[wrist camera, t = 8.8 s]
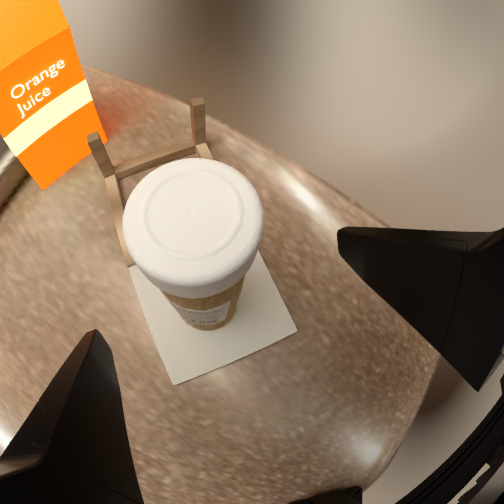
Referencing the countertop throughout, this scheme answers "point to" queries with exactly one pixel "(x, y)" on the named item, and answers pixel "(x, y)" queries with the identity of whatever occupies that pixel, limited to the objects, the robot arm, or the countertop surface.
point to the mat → (222, 339)
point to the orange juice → (43, 90)
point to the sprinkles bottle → (195, 236)
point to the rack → (147, 163)
